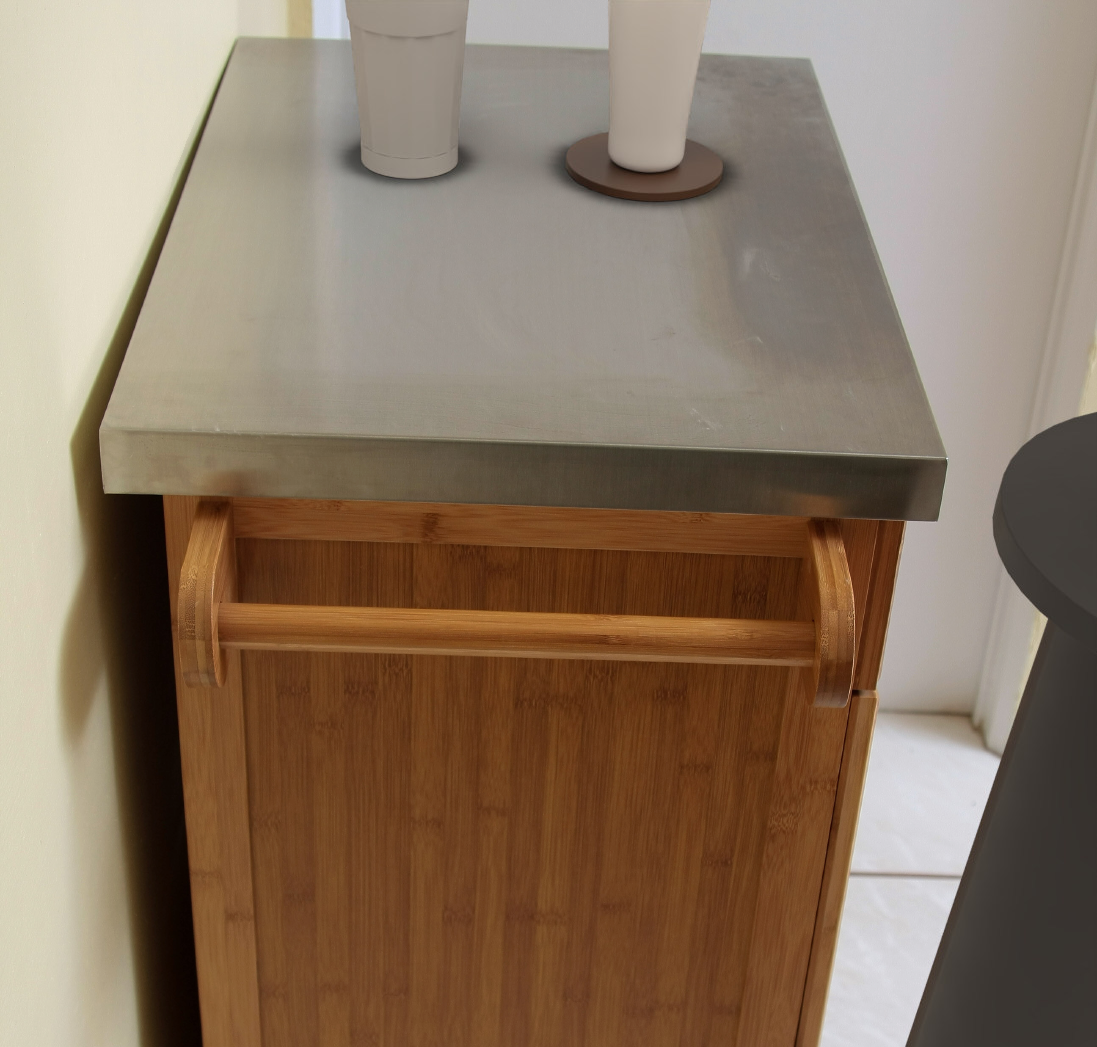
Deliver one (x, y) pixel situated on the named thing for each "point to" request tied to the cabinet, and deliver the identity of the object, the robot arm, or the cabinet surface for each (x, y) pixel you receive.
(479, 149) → the cabinet surface
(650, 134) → the white tumbler
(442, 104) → the cup
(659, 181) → the coaster
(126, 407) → the cabinet surface
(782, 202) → the cabinet surface
